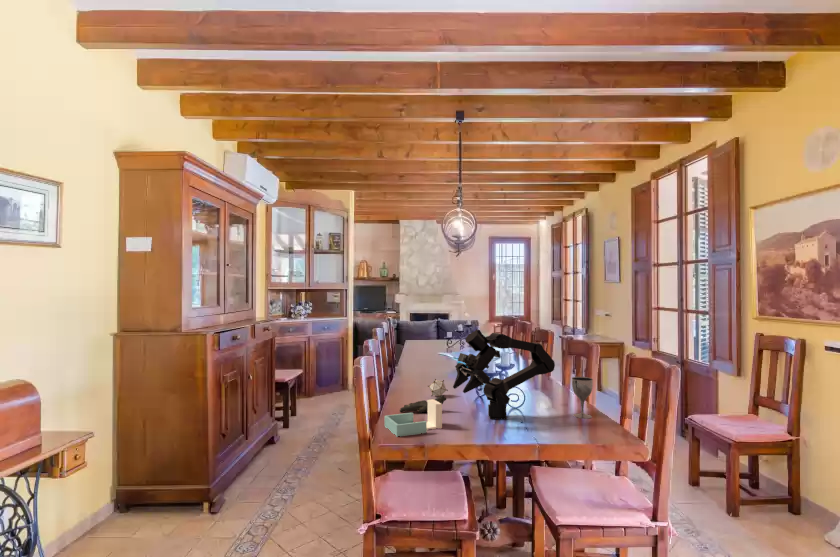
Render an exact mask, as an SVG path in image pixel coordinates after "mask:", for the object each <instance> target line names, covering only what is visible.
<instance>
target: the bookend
mask: <svg viewBox="0 0 840 557" xmlns="http://www.w3.org/2000/svg"><path fill="white" fill-rule="evenodd" d="M426 401H427V402H428V411H427V421H426V426H427V431H429V430H428V429H432V430H437V429H436V428H440V429H442V428H443V404H441V403H440V402H438V401H436V400H435V399H427V400H426Z"/></svg>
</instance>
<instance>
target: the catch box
mask: <svg viewBox="0 0 840 557" xmlns="http://www.w3.org/2000/svg"><path fill="white" fill-rule="evenodd" d="M426 422H427V421H426V420H423V421H416V422H414V412H405V413H398V414H397V413H395V414H387V415H384V427H385V428H386V429H387V428H388V429H389V430H390V431H391V432H390V431H389V430H388V429H387V430H388V431H389V432H390V433H392V434H393V435H394V434H395V435H396V436H395V435H394V436H395V437H397V438H398V436H400V437H406V436H414V435H420V434H421V433H422V434H427V431H428V430H427V426H426Z"/></svg>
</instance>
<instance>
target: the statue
mask: <svg viewBox="0 0 840 557" xmlns="http://www.w3.org/2000/svg"><path fill="white" fill-rule="evenodd" d="M434 400H436V401H438V402H440V403H441V404H442V405H443V404H444V402H445V401H447V397H446V396H445V394H442V395H441V396H437V397H436V398H435V399H434ZM426 411H427V412H428V402H427V400H418V401H415V402H410V403H408V404H404V406H403V407H401V408H400V409H399V412H400V413H403V412H418V413H419V414H423V413H425V412H426ZM422 412H423V413H422ZM427 412H426V413H427Z"/></svg>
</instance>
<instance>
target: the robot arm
mask: <svg viewBox="0 0 840 557" xmlns="http://www.w3.org/2000/svg"><path fill="white" fill-rule="evenodd" d="M465 342H466V343H467V344H468V346H470V347H471V349H473V351H474V352H478V353H477V354H476V355H475V354H472V353H469V354H466V353H463V352H460V353H459V355H458V357H457V361H458V362H457V363H456V365H455V366H454V367H455V370H456V372H457V375H456V378H455V381H454V382H453V383H454V384H453V386H452V388H453V389H455V390H456V389H457V388H458V387H460V386H461V385H463V384H464V383H465V382H467V381H468V382H467V384H466V385H465V386H464V388H463V390H462V393H464V394H466V393H468V392H470V391H472V390H474V389H476V388H479V387H480V386H483V395H484V396H485V397H486V400H487V401H489V404H488V405H487V407H488V408H487V412H488V413H487V414H488V415H487V416H488V417H489V418H490V420H508V418H507V417H508V416H507V404H509V403H510V399H511V398H510V397H509V396H508V393H509V391H511V389H514V388H515V387H518V386H519V385H521V384H523V383H525V382H527V381H528V380H531V379H532V378H534V377H536V376H538V375H539V376H540V375H546V374H550V373H551V372H554V370H555V366H556V364H555V360H554V359H553V358H552V357H551V356H550V354H549V353H548V352H547V351H546V350H545V348H544V347H543V345H542V344H541V343H538V342H531V341H525V340H520V339H515V338H513V337H510V335H509V336H508V335H506V334H503V333H499V332H492V333H491V334H489V335H488V336H485V335H484V334H483V333H482V331H481V330H480V329H477V328H476V329H475V330H474V331H471V333H469V334H468V335H467V336H466V337H465ZM496 348H498V349H518V350H523V351H527V352H530V356H531V359H532V361H531V362H530V364H529V365H528V366H526V367H524V368H522V369H521V370H518V371H516V372H515V373H513V374H510V375H509V376H507V377H505V378H503V379H501V378H497V377H494V378H492V379H491V378H490V376H489V375H488V373H486V372H485V369H486V370H487V369H489V368H490V366H489V364H490V363H491V362H492V360H494V358H499V359H501V353H500V350H497V349H496Z"/></svg>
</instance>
